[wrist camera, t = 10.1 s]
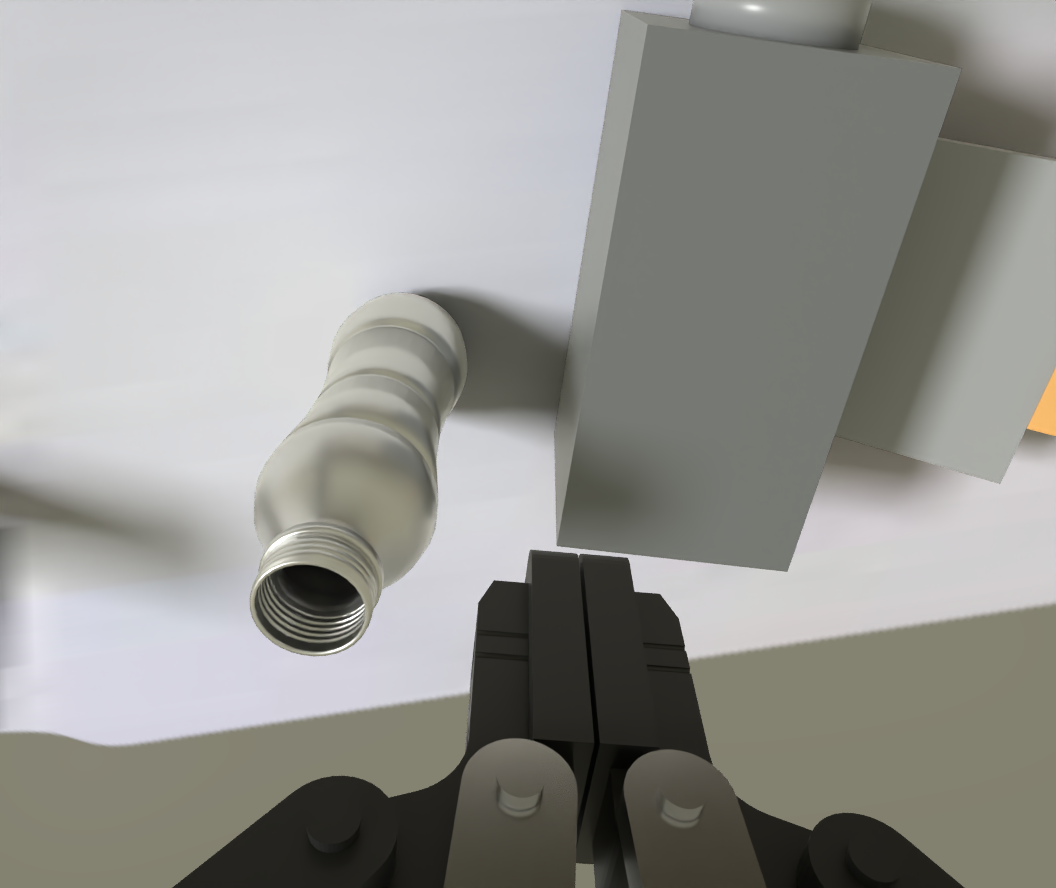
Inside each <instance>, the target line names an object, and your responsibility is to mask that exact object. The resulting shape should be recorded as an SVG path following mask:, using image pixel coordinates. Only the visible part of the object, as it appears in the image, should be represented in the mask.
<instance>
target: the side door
mask: <svg viewBox="0 0 1056 888" xmlns="http://www.w3.org/2000/svg"><path fill="white" fill-rule="evenodd" d="M1026 428H1027V429H1030V430H1034V431H1038V432H1041V433H1045V434H1049V435H1052V436H1056V159H1055V158H1050V157H1044V156H1039V155H1033V154H1028V153H1022V152H1017V151H1011V150H1006V149H1000V148H995V147H989V146H984V145H978V144H973V143H967V142H962V141H956V140H951V139H945V138H940V137H938V139H937V142H936V145H935V148H934V151H933V154H932V157H931V159H930V162H929V165H928V168H927V171H926V174H925V177H924V180H923V182H922V185H921V188H920V191H919V194H918V197H917V200H916V203H915V205H914V208H913V211H912V214H911V217H910V220H909V223H908V226H907V228H906V231H905V234H904V237H903V240H902V243H901V246H900V249H899V252H898V254H897V257H896V260H895V263H894V266H893V269H892V272H891V275H890V277H889V280H888V283H887V286H886V289H885V292H884V295H883V298H882V300H881V303H880V306H879V309H878V312H877V315H876V318H875V321H874V324H873V326H872V329H871V332H870V335H869V338H868V341H867V344H866V347H865V349H864V352H863V355H862V358H861V361H860V364H859V367H858V370H857V372H856V375H855V378H854V381H853V384H852V387H851V390H850V393H849V396H848V398H847V401H846V404H845V407H844V410H843V413H842V416H841V419H840V421H839V424H838V427H837V430H836V433H835V436H838V437H841V438H845V439H848V440H852V441H855V442H858V443H862V444H865V445H869V446H872V447H875V448H879V449H882V450H886V451H889V452H893V453H896V454H899V455H903V456H906V457H910V458H913V459H916V460H920V461H923V462H927V463H930V464H934V465H937V466H940V467H944V468H947V469H951V470H954V471H958V472H961V473H964V474H968V475H971V476H975V477H978V478H981V479H985V480H988V481H992V482H995V483H999V484H1000V483H1001V481H1002V479H1003V477H1004V475H1005V473H1006V471H1007V468H1008V466H1009V464H1010V462H1011V460H1012V458H1013V456H1014V454H1015V452H1016V449H1017V447H1018V445H1019V443H1020V441H1021V439H1022V437H1023V435H1024V433H1025V430H1026Z"/></svg>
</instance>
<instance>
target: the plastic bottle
mask: <svg viewBox="0 0 1056 888" xmlns="http://www.w3.org/2000/svg"><path fill="white" fill-rule="evenodd" d="M467 370H468V364H467V354H466V348H465V344H464V340H463V337H462V333H461V331H460V329H459V328H458V326H457V324H456V322H455V321H454V320H453V318H452V317H451V316H450V315H449V313H448V312H447V311H445V310H444V309H443V308H442V307H441V306H439V305H438V304H436V303H435V302H433V301H431V300H429V299H428V298H425V297H422V296H419V295H416V294H409V293H390V294H386V295H382V296H378V297H376V298H374V299H372V300H370V301H368V302H366V303H365V304H364V305H363V306H361V307H360V308H359V309H357V310H356V311H355V312H354V313H352V314H351V315H350V316H349V317H348V318H347V319H346V320H345V321H344V323H343V324H342V325H341V326H340V328H339V330H338V332H337V334H336V336H335V338H334V341H333V345H332V349H331V353H330V357H329V361H328V374H327V377H326V380H325V383H324V386H323V389H322V392H321V394H320V395H319V397H318V399H317V401H316V402H315V403H314V405H313V406H312V408H311V409H310V411H309V412H308V414H307V415H306V417H305V418H304V419H303V420H302V421H301V422H300V423H299V424H298V425H297V426H296V428H295V429H294V430H293V431H292V432H291V433H290V434H289V435H288V436H287V437H286V439H284V440H283V441H282V443H281V444H280V445H279V446H278V447H277V449H276V450H275V451H274V452H273V454H272V455H271V457H270V458H269V459H268V461H267V462H266V463H265V465H264V467H263V469H262V471H261V473H260V475H259V477H258V481H257V485H256V490H255V501H254V524H255V528H256V532H257V536H258V539H259V541H260V543H261V545H262V547H263V549H264V551H265V553H264V555H263V557H262V559H261V563H260V567H259V573H258V575H257V578H256V580H255V582H254V584H253V587H252V591H251V596H250V610H251V614H252V618H253V620H254V622H255V624H256V626H257V627H258V628H259V630H260V631H261V632H262V633H263V635H265V636H266V637H267V638H268V639H269V640H270V641H271V642H273V643H274V644H276V645H278V646H279V647H281V648H283V649H286V650H288V651H290V652H293V653H297V654H301V655H308V656H326V655H331V654H336V653H339V652H341V651H344V650H346V649H348V648H349V647H351V646H352V645H354V644H355V643H356V642H357V641H358V640H359V639H360V638H361V637H362V636H363V634H364V632H365V631H366V629H367V627H368V626H369V623H370V620H371V617H372V613H373V609H374V607H375V606H376V604H377V603H378V600H379V597H380V595H381V591H382V589H384V588H386V587H388V586H390V585H392V584H393V583H395V582H396V581H398V580H399V579H401V578H402V577H403V576H404V575H406V574H407V573H408V572H409V571H410V570H411V569H412V568H413V566H414V565H415V564H416V562H417V561H418V560H419V558H420V557H421V556H422V554H423V553H424V551H425V550H426V548H427V547H428V545H429V544H430V542H431V539H432V536H433V534H434V531H435V526H436V518H437V507H438V487H437V462H436V460H437V452H438V444H439V436H440V433H441V431H442V428H443V426H444V423H445V421H446V418H447V417H448V415H449V414H450V413H451V411H452V409H453V408H454V406H455V405H456V403H457V401H458V399H459V397H460V395H461V393H462V391H463V388H464V385H465V382H466V377H467Z"/></svg>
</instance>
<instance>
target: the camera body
mask: <svg viewBox="0 0 1056 888" xmlns="http://www.w3.org/2000/svg"><path fill="white" fill-rule="evenodd" d="M871 4H872V0H693V5H692V10H691V15H690V19H683V18H676V17H669V16H661V15H654V14H647V13H640V12H633V11H626V10H622V12H621V18H620V25H619V31H618V37H617V43H616V50H615V56H614V62H613V68H612V75H611V81H610V87H609V93H608V100H607V106H606V112H605V119H604V125H603V131H602V137H601V144H600V150H599V156H598V162H597V169H596V175H595V181H594V187H593V194H592V200H591V206H590V212H589V219H588V225H587V231H586V237H585V244H584V250H583V256H582V263H581V269H580V275H579V281H578V288H577V294H576V300H575V306H574V313H573V319H572V325H571V331H570V338H569V344H568V350H567V356H566V363H565V369H564V375H563V381H562V388H561V394H560V400H559V407H558V413H557V419H556V425H555V432H554V442H555V489H556V536H557V546H561V547H570V548H579V549H588V550H597V551H606V552H615V553H624V554H633V555H642V556H651V557H660V558H669V559H678V560H687V561H696V562H705V563H714V564H723V565H732V566H740V567H749V568H758V569H767V570H776V571H785V572H787V571H788V568H789V565H790V563H791V560H792V557H793V554H794V551H795V548H796V545H797V542H798V540H799V537H800V534H801V531H802V528H803V525H804V522H805V519H806V516H807V514H808V511H809V508H810V505H811V502H812V499H813V496H814V493H815V491H816V488H817V485H818V482H819V479H820V476H821V473H822V470H823V468H824V465H825V462H826V459H827V456H828V453H829V450H830V447H831V444H832V442H833V439H834V436H835V433H836V430H837V427H838V424H839V421H840V419H841V416H842V413H843V410H844V407H845V404H846V401H847V398H848V396H849V393H850V390H851V387H852V384H853V381H854V378H855V375H856V372H857V370H858V367H859V364H860V361H861V358H862V355H863V352H864V349H865V347H866V344H867V341H868V338H869V335H870V332H871V329H872V326H873V324H874V321H875V318H876V315H877V312H878V309H879V306H880V303H881V300H882V298H883V295H884V292H885V289H886V286H887V283H888V280H889V277H890V275H891V272H892V269H893V266H894V263H895V260H896V257H897V254H898V252H899V249H900V246H901V243H902V240H903V237H904V234H905V231H906V228H907V226H908V223H909V220H910V217H911V214H912V211H913V208H914V205H915V203H916V200H917V197H918V194H919V191H920V188H921V185H922V182H923V180H924V177H925V174H926V171H927V168H928V165H929V162H930V159H931V157H932V154H933V151H934V148H935V145H936V142H937V139H938V136H939V133H940V131H941V128H942V125H943V122H944V119H945V116H946V113H947V110H948V108H949V105H950V102H951V99H952V96H953V93H954V90H955V87H956V85H957V82H958V79H959V76H960V73H961V70H962V68H958V67H954V66H950V65H945V64H941V63H937V62H933V61H929V60H925V59H921V58H917V57H913V56H908V55H904V54H900V53H896V52H892V51H888V50H884V49H880V48H876V47H871V46H867V45H863V44H860V42H861V38H862V35H863V31H864V28H865V25H866V21H867V18H868V14H869V11H870V7H871Z"/></svg>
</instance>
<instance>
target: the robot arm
mask: <svg viewBox="0 0 1056 888" xmlns="http://www.w3.org/2000/svg"><path fill="white" fill-rule="evenodd" d="M576 863H583V864H594V875H595V887H596V888H964V887H963V886H962V885H961V884H959V883H958V882H957V881H956V880H955V879H953V878H952V877H951V876H950V875H949V874H947V873H946V872H945V871H944V870H943V869H941V868H940V867H939V866H938V865H937V864H935V863H934V862H933V861H932V860H931V859H930V858H928V857H927V856H926V855H925V854H924V853H922V852H921V851H920V850H919V849H918V848H916V847H915V846H914V845H913V844H912V843H911V842H909V841H908V840H907V839H906V838H904V837H903V836H902V835H901V834H899V833H898V832H897V831H895V830H894V829H893V828H891V827H889V826H888V825H886V824H884V823H883V822H880V821H878V820H876V819H874V818H871V817H868V816H864V815H860V814H854V813H839V814H834V815H831V816H828V817H826V818H824V819H823V820H821V821H820V822H819V823H818V824H817V825H816V826H815V827H814V829H813V831H811V830H808V829H806V828H803V827H801V826H798V825H795V824H792V823H790V822H787V821H784V820H781V819H779V818H776V817H773V816H770V815H768V814H766V813H763V812H761V811H759V810H757V809H755V808H753V807H752V806H750V805H748V804H747V803H745V802H744V801H743V800H741V799H740V798H738V797H737V796H736V794H735V792H734V790H733V788H732V786H731V785H730V783H729V781H728V780H727V779H726V778H725V777H724V775H723V774H722V773H721V772H720V771H719V770H718V769H717V768H715V767H714V766H713V764H712V761H711V758H710V755H709V750H708V746H707V741H706V737H705V733H704V728H703V724H702V719H701V715H700V710H699V706H698V702H697V698H696V693H695V688H694V684H693V680H692V676H691V674H690V666H689V662H688V657H687V653H686V651H685V644H684V640H683V635H682V631H681V627H680V622H679V618H678V617H677V616H676V615H675V613H674V612H673V611H672V609H671V608H670V607H669V605H668V604H667V603H666V601H665V600H664V599H663V598H662V596H661V595H660V594H653V593H641V592H634V587H633V581H632V575H631V569H630V563H629V560H628V558H624V557H612V556H600V555H588V554H580V555H579V558H578V555H577V554H574V553H563V552H551V551H539V550H530V553H529V558H528V564H527V571H526V579H525V583H519V582H507V581H495V580H494V581H493V583H492V584H491V586H490V587H489V588H488V590H487V591H486V593H485V594H484V596H483V597H482V598H481V600H480V601H479V603H478V613H477V622H476V632H475V642H474V651H473V661H472V670H471V682H470V695H469V709H468V722H467V736H466V749H465V755H464V757H463V759H462V760H461V762H460V764H459V765H458V766H457V767H456V768H455V770H454V771H453V772H452V773H451V774H449V775H448V776H447V777H446V778H445V779H443V780H441V781H440V782H438V783H437V784H434V785H433V786H430V787H428V788H425V789H422V790H419V791H416V792H411V793H407V794H403V795H399V796H394V797H390V798H388V797H387V796H386V795H385V794H384V793H383V792H382V791H381V790H380V789H379V788H378V787H376V786H375V785H373V784H372V783H369V782H367V781H365V780H363V779H359V778H355V777H349V776H331V777H326V778H321V779H318V780H315V781H312V782H310V783H308V784H306V785H304V786H302V787H300V788H299V789H297V790H296V791H294V792H293V793H292V794H290V795H289V796H288V797H287V798H285V799H284V800H283V801H281V802H280V803H279V804H278V805H276V806H275V807H274V808H273V809H271V810H270V811H269V812H268V813H266V814H265V815H264V816H262V817H261V818H260V819H259V820H257V821H256V822H255V823H254V824H252V825H251V826H250V827H249V828H247V829H246V830H245V831H243V832H242V833H241V834H240V835H238V836H237V837H236V838H235V839H233V840H232V841H231V842H230V843H228V844H227V845H226V846H225V847H223V848H222V849H221V850H220V851H218V852H217V853H216V854H215V855H213V856H212V857H211V858H209V859H208V860H207V861H206V862H204V863H203V864H202V865H200V866H199V867H198V868H197V869H195V870H194V871H193V872H192V873H190V874H189V875H188V876H187V877H185V878H184V879H183V880H181V881H180V882H179V883H178V884H176V885H175V886H174V887H173V888H575V881H576Z"/></svg>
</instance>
